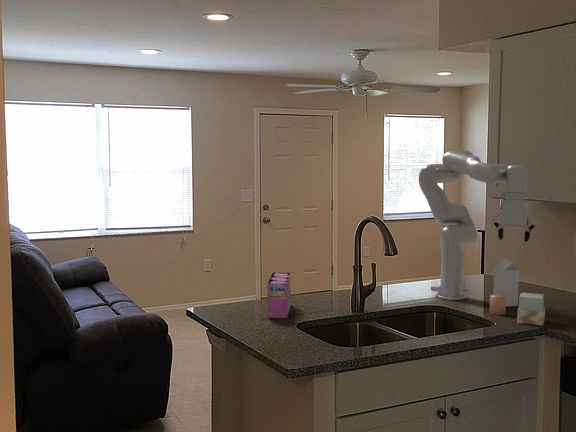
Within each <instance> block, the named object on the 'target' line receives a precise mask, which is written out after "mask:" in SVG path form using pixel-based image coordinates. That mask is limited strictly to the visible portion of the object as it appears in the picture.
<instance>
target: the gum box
mask: <svg viewBox="0 0 576 432" xmlns="http://www.w3.org/2000/svg"><path fill="white" fill-rule="evenodd" d="M291 276H292V275H291V272H287V273H277V272H275V271H274V272H272V273H271V274H270V278H269V280H268V282H267V284H266V285H267V286H266V288H267V289H266V290H267V291H266V295H267V296H266V297H267V299H266V302H267V303H266V318H267V319H270V318H272V319H287V318H288V316H289V312H290V309H291V306H292V295H291V294H292V293H291V292H292V291H291V289H292V288H291V283H292V282H291V281H292V279H291V278H292V277H291Z"/></svg>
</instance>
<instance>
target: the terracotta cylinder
mask: <svg viewBox="0 0 576 432" xmlns="http://www.w3.org/2000/svg"><path fill="white" fill-rule="evenodd" d="M506 311H507V307H506V295H502V294H493V293H492V294H490V296H489V314H491V315H496V316H504V315H506Z"/></svg>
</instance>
